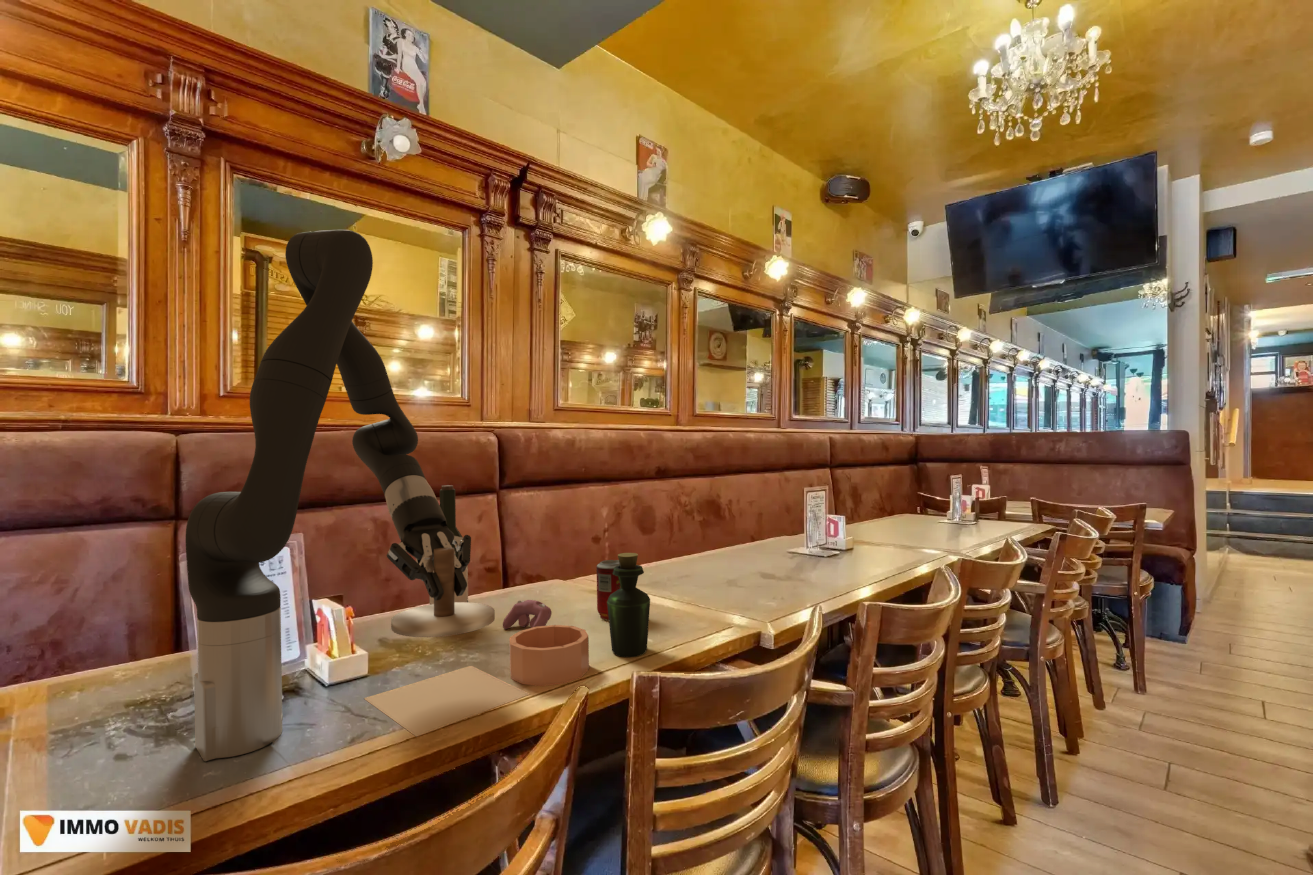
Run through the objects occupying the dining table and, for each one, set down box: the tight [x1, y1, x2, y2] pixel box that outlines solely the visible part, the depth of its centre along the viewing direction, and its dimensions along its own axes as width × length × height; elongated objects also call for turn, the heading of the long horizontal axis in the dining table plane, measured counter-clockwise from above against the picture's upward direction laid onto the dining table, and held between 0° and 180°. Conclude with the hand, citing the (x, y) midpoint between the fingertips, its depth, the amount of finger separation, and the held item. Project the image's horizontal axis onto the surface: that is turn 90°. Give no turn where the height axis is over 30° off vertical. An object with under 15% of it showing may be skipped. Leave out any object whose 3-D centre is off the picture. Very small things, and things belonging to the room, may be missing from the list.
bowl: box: [508, 624, 590, 687], centre depth 104 cm, size 13×13×6 cm
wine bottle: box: [429, 484, 469, 605], centre depth 134 cm, size 8×8×30 cm
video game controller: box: [502, 599, 553, 630], centre depth 128 cm, size 10×5×7 cm, turn 59°
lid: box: [390, 548, 496, 638], centre depth 94 cm, size 15×15×11 cm
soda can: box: [596, 559, 621, 621], centre depth 136 cm, size 7×7×12 cm
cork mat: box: [363, 665, 531, 738], centre depth 94 cm, size 18×18×1 cm
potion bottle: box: [607, 552, 651, 658], centre depth 113 cm, size 8×8×18 cm
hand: (450, 594), depth 92 cm, fingers closed on lid, 3 cm apart
